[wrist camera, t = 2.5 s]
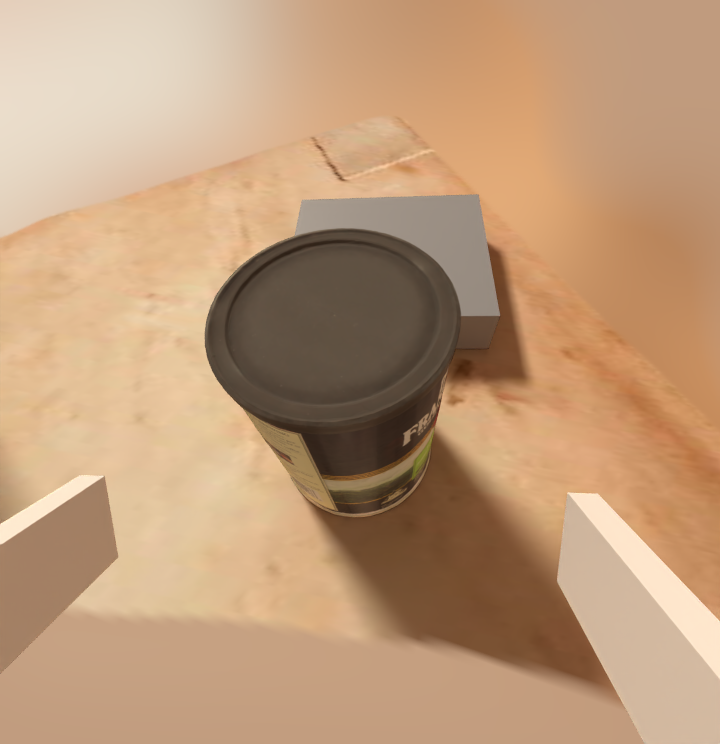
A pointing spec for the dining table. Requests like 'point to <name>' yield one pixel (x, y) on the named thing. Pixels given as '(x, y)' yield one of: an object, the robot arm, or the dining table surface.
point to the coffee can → (339, 361)
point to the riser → (427, 245)
